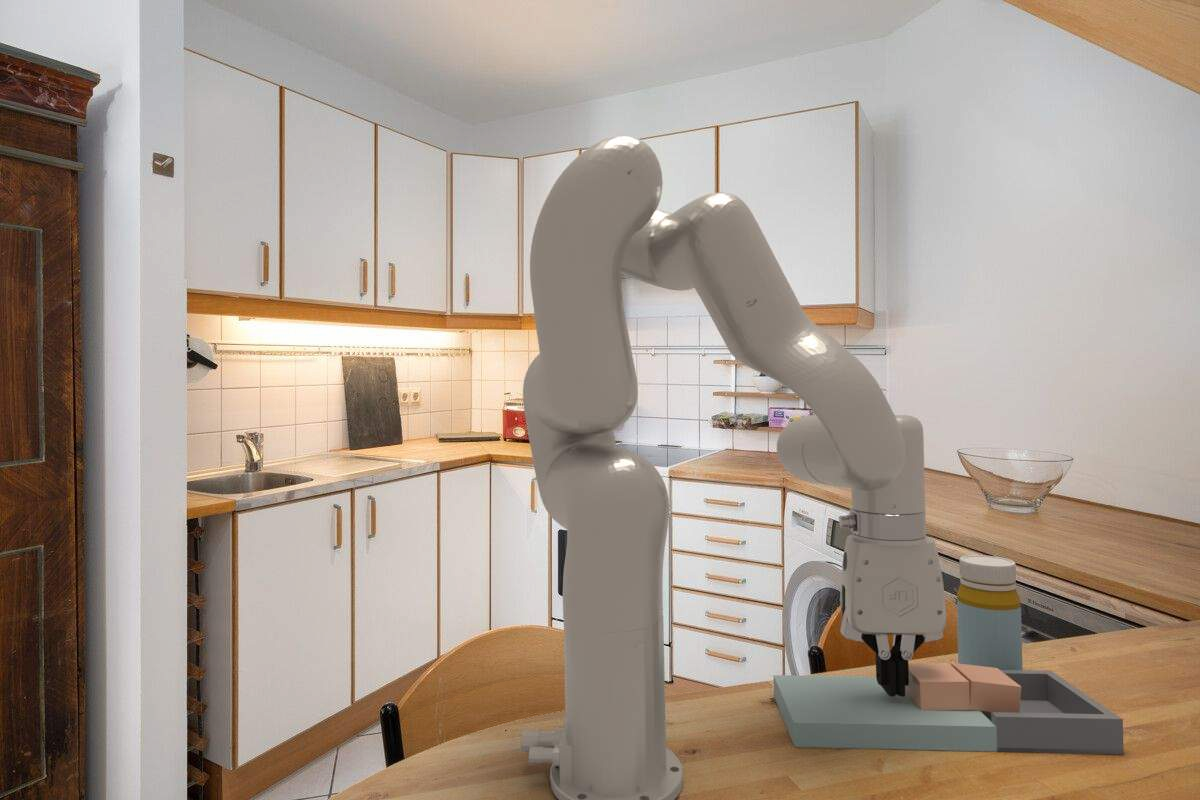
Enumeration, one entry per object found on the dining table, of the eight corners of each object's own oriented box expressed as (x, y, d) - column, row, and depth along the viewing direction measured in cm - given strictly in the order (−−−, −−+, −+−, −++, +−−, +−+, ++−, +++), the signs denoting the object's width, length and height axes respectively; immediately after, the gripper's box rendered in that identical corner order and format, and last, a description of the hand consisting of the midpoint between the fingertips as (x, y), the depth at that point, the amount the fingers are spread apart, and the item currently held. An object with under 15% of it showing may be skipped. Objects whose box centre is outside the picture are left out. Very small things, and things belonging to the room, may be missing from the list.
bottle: (1004, 668, 87) (1002, 554, 87) (1034, 691, 80) (1031, 567, 80) (949, 667, 88) (946, 554, 88) (973, 690, 81) (970, 567, 81)
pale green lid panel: (794, 746, 68) (793, 722, 68) (773, 695, 80) (773, 675, 80) (997, 751, 66) (996, 726, 66) (945, 698, 78) (944, 677, 78)
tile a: (921, 709, 70) (919, 681, 70) (903, 689, 75) (902, 663, 75) (970, 710, 70) (968, 681, 70) (949, 689, 75) (948, 663, 75)
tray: (997, 751, 66) (996, 716, 66) (945, 698, 78) (944, 669, 78) (1123, 754, 65) (1122, 719, 65) (1051, 700, 77) (1050, 670, 77)
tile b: (969, 709, 70) (972, 681, 70) (949, 689, 75) (951, 662, 75) (1019, 715, 70) (1021, 686, 70) (994, 694, 75) (997, 668, 75)
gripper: (828, 533, 70) (832, 706, 70) (974, 532, 69) (979, 707, 69) (811, 520, 78) (815, 676, 78) (943, 519, 76) (947, 678, 76)
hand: (892, 690), depth 73 cm, fingers closed
